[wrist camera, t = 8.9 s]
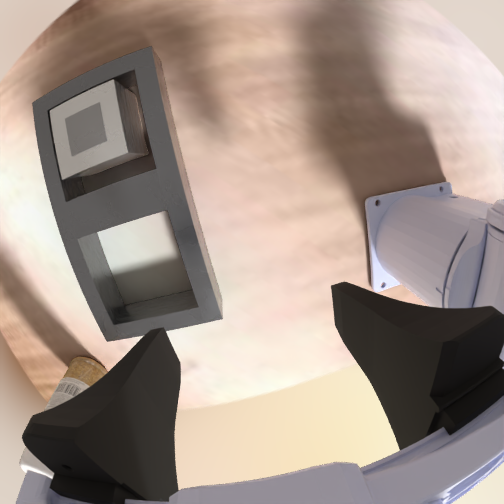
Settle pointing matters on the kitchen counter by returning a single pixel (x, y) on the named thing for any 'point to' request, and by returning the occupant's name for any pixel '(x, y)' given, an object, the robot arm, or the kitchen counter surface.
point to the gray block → (97, 130)
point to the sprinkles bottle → (73, 383)
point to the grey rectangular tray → (130, 207)
